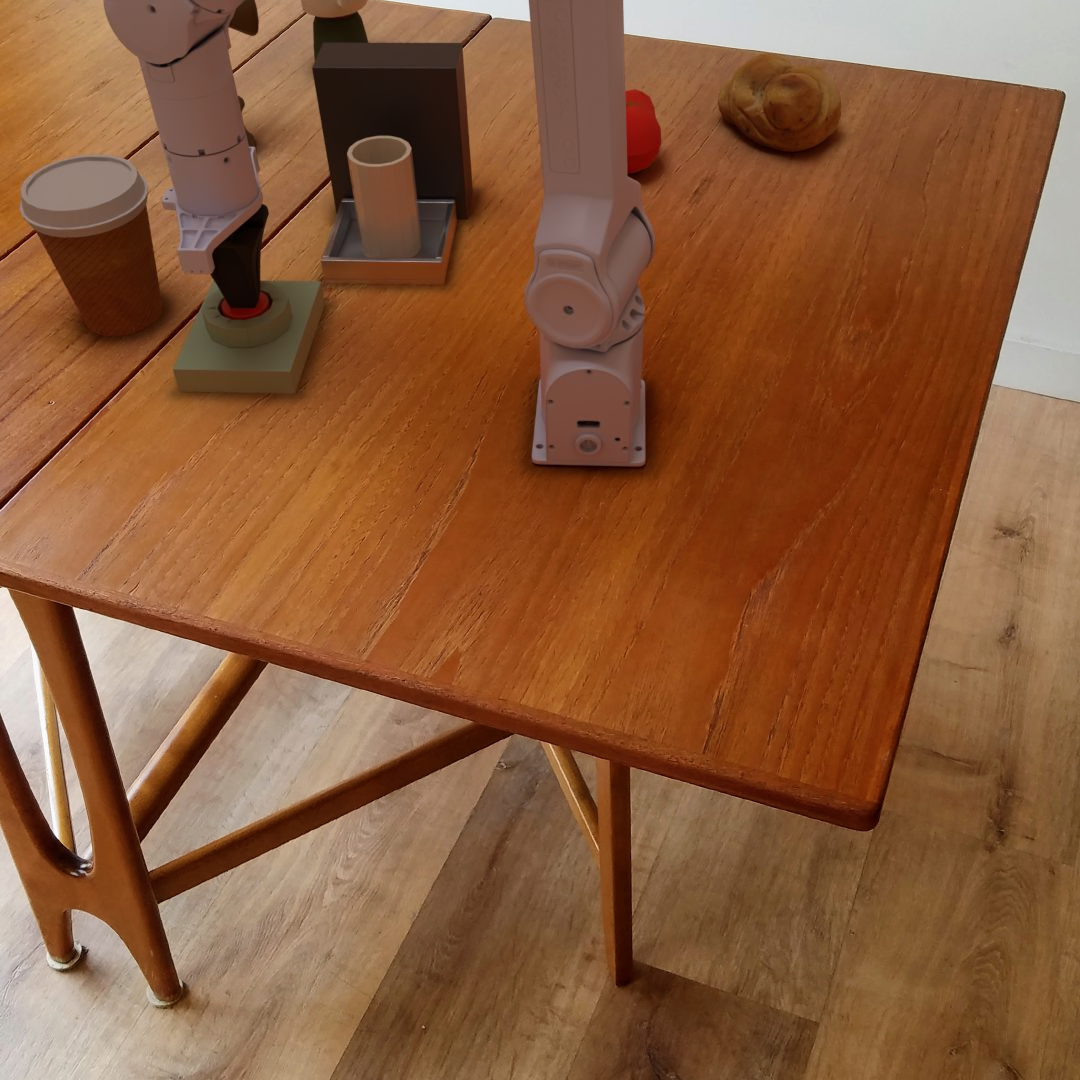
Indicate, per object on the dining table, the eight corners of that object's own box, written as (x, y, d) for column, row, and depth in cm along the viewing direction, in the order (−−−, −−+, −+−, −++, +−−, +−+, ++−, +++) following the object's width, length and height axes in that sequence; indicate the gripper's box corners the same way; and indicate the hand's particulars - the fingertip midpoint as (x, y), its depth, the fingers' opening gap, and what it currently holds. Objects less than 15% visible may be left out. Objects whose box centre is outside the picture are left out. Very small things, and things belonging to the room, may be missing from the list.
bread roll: (695, 121, 117) (700, 42, 111) (765, 94, 121) (774, 16, 115) (784, 171, 109) (796, 88, 104) (856, 140, 113) (871, 59, 108)
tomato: (665, 186, 108) (669, 119, 103) (548, 192, 108) (547, 125, 103) (652, 137, 115) (656, 72, 110) (543, 142, 115) (541, 77, 110)
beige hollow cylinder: (417, 263, 99) (406, 166, 92) (357, 263, 99) (342, 166, 93) (425, 231, 102) (415, 135, 96) (367, 230, 103) (353, 135, 96)
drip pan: (443, 285, 97) (441, 261, 96) (324, 283, 98) (320, 260, 96) (457, 222, 104) (455, 199, 103) (346, 220, 105) (342, 197, 103)
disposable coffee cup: (64, 358, 92) (11, 223, 83) (65, 293, 98) (16, 161, 89) (186, 336, 93) (146, 202, 84) (179, 274, 100) (141, 143, 91)
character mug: (390, 82, 125) (375, -46, 116) (326, 94, 123) (306, -34, 114) (361, 44, 132) (345, -79, 123) (300, 55, 130) (279, -68, 121)
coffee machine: (467, 220, 105) (455, 67, 95) (337, 219, 105) (311, 67, 95) (473, 192, 108) (462, 42, 98) (346, 191, 109) (323, 42, 99)
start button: (267, 335, 89) (262, 316, 88) (221, 335, 89) (216, 316, 88) (277, 308, 92) (273, 290, 90) (232, 308, 92) (227, 289, 90)
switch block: (295, 394, 88) (285, 351, 85) (179, 392, 88) (166, 349, 85) (325, 303, 96) (317, 261, 93) (219, 302, 96) (208, 260, 94)
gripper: (176, 89, 85) (217, 251, 94) (113, 189, 75) (167, 359, 84) (271, 90, 84) (302, 252, 94) (220, 190, 74) (262, 361, 84)
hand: (244, 303), depth 89 cm, fingers closed, pressing on start button
